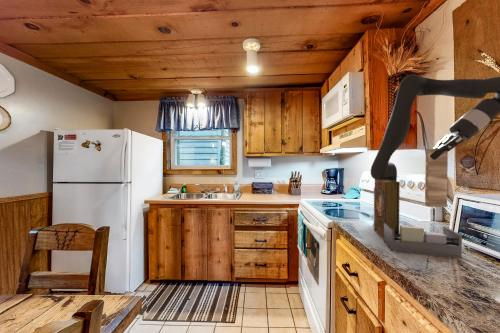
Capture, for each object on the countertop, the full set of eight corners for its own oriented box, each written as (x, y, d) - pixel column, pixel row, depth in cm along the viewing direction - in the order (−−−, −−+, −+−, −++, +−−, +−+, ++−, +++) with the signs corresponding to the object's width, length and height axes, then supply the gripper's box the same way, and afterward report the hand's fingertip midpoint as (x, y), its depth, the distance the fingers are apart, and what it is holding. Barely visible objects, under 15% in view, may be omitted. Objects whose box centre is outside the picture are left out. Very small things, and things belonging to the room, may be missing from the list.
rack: (384, 241, 102) (384, 222, 101) (445, 247, 95) (445, 226, 95) (391, 251, 91) (391, 230, 90) (461, 258, 84) (461, 235, 84)
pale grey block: (423, 251, 91) (424, 232, 91) (442, 252, 90) (443, 233, 89) (426, 253, 89) (426, 234, 89) (446, 255, 87) (446, 235, 87)
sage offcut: (399, 248, 94) (399, 225, 93) (420, 250, 92) (421, 226, 91) (401, 251, 91) (401, 227, 91) (423, 253, 89) (423, 228, 89)
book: (373, 229, 120) (373, 178, 119) (385, 230, 119) (386, 179, 118) (384, 240, 104) (385, 181, 103) (398, 241, 102) (399, 181, 102)
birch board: (425, 205, 96) (425, 149, 95) (443, 205, 94) (443, 148, 93) (428, 206, 93) (428, 148, 92) (446, 207, 91) (447, 148, 91)
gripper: (451, 121, 97) (415, 152, 101) (471, 114, 84) (429, 150, 87) (466, 133, 96) (430, 164, 100) (490, 129, 82) (447, 165, 86)
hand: (430, 157), depth 93 cm, fingers closed on birch board, 3 cm apart
